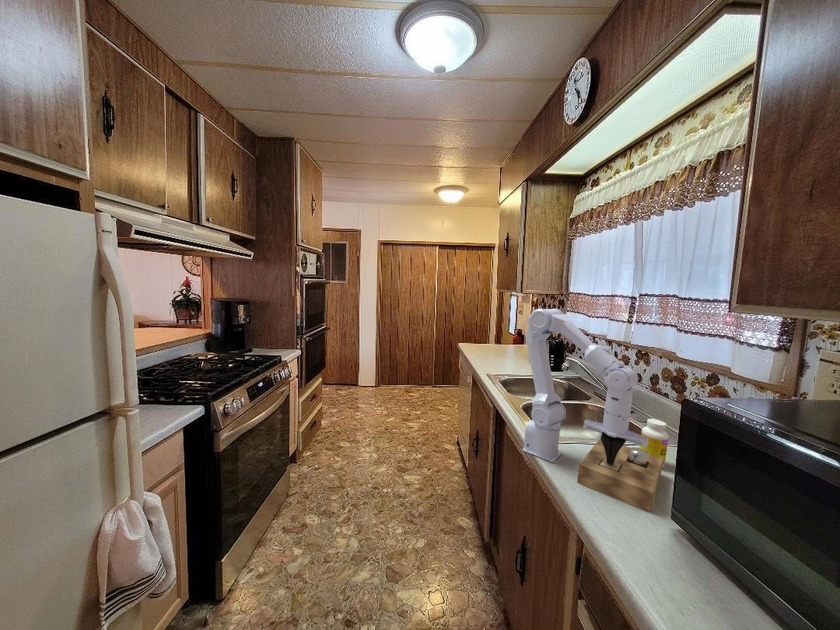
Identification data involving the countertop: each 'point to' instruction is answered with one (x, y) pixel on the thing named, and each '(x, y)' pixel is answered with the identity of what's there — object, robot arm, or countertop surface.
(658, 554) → the countertop surface
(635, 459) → the peg steel
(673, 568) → the countertop surface
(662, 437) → the supplement bottle
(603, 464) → the peg maple
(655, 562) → the countertop surface
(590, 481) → the oak block
